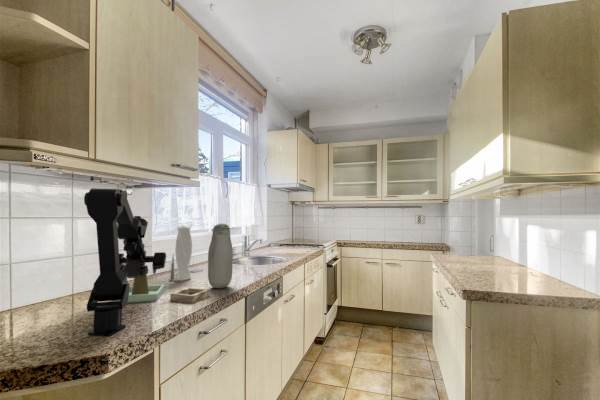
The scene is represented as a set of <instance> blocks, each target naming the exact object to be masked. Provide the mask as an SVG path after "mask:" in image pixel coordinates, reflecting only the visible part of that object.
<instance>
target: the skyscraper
mask: <svg viewBox="0 0 600 400" xmlns="http://www.w3.org/2000/svg"><path fill="white" fill-rule="evenodd" d="M187 224H190V226H188V225H187ZM192 225H193V222H191V221H190V222H189V221H186V222H183V223H182V224H181V225H179V226H177V231H178V233H177V234H176V242H175V249H174V251H175V256H174V254H173V253H172V258H171V261H172V262H171V263H170V264H171V268H170V269H171V270H170V271H171V272H170V279H169V281H172V282H175V283H181V282H185V281H186V280H187V281H191V280H192V277H191V273H190V269H189V268H190V267H189V266H190V265H191V264H190V263H191V258H192V253H193V250H192V249H193V242H192V235H191V228H192ZM175 261H176V267H177V271H176V273H175Z"/></svg>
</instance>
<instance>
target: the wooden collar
mask: <svg viewBox="0 0 600 400" xmlns="http://www.w3.org/2000/svg"><path fill="white" fill-rule="evenodd" d="M208 297H210V289H208V288H207V289H206V288H198V287H197V288H196V287H186V288H183V289H180V290H176V291H174V292H171V293H170V299H169V300H170V301H173V302H180V303H181V302H182V303H189V304H194V303H196V302H198V301H201V300H204V299H205V298H208Z"/></svg>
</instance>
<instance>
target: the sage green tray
mask: <svg viewBox="0 0 600 400" xmlns="http://www.w3.org/2000/svg"><path fill="white" fill-rule="evenodd" d="M132 289H133V285H131V286H130V289H129V297H128V304H131V303H146V302H158V301H159V299H160V297H161V296H162V295H163V293H164V292H165V289H166V286H165V284H153V285H149V284H148V291H149V294H139V295H132ZM115 301H121V300H115ZM110 302H113V301H110Z"/></svg>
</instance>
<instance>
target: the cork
mask: <svg viewBox="0 0 600 400" xmlns="http://www.w3.org/2000/svg"><path fill="white" fill-rule="evenodd" d="M148 273H149V268H148V269H147V274H144V276H141V277H140V278H133V284H132V286H133V289H132V295H139V294H149V291H148V285H149V284H148V277H147V275H148Z"/></svg>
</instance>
